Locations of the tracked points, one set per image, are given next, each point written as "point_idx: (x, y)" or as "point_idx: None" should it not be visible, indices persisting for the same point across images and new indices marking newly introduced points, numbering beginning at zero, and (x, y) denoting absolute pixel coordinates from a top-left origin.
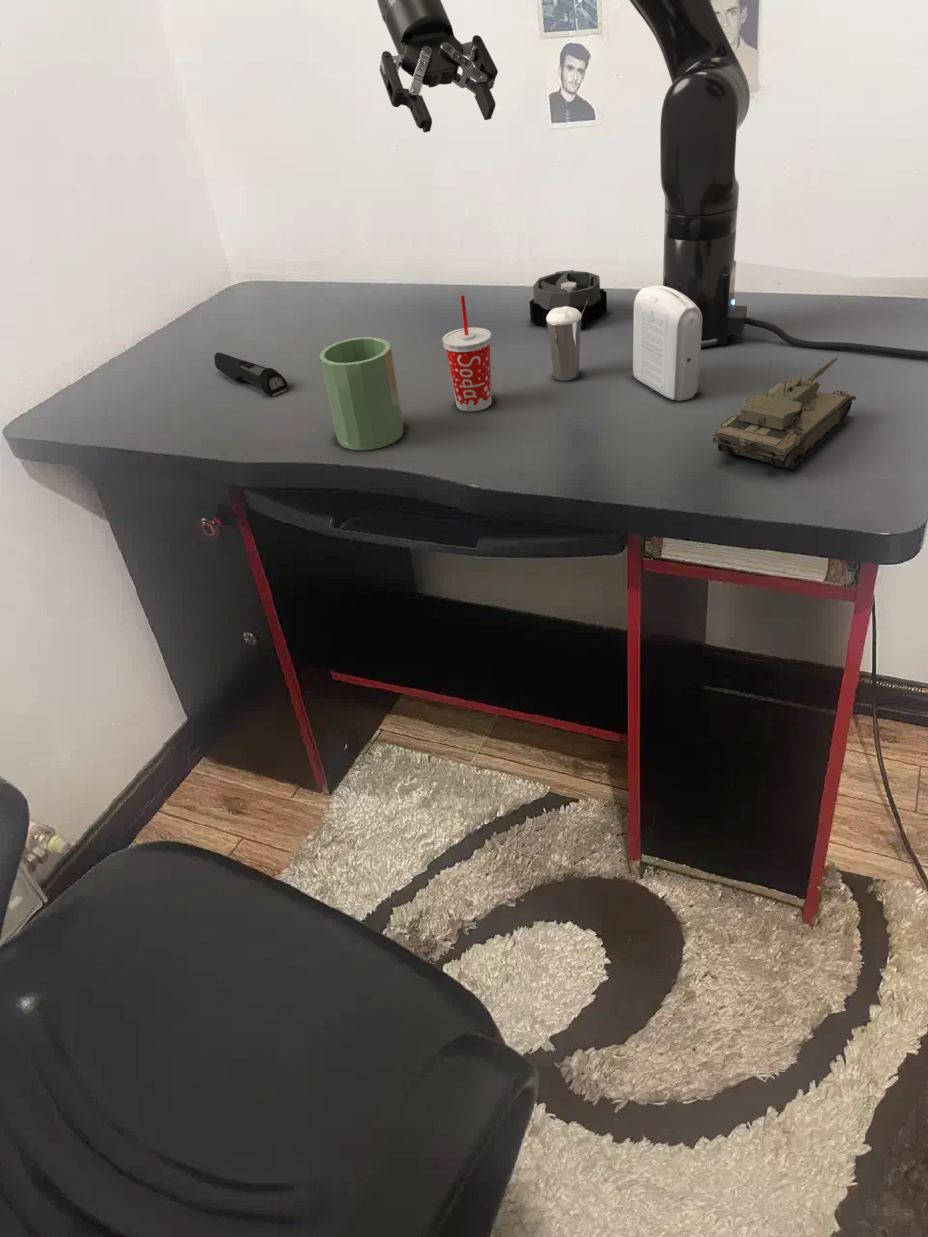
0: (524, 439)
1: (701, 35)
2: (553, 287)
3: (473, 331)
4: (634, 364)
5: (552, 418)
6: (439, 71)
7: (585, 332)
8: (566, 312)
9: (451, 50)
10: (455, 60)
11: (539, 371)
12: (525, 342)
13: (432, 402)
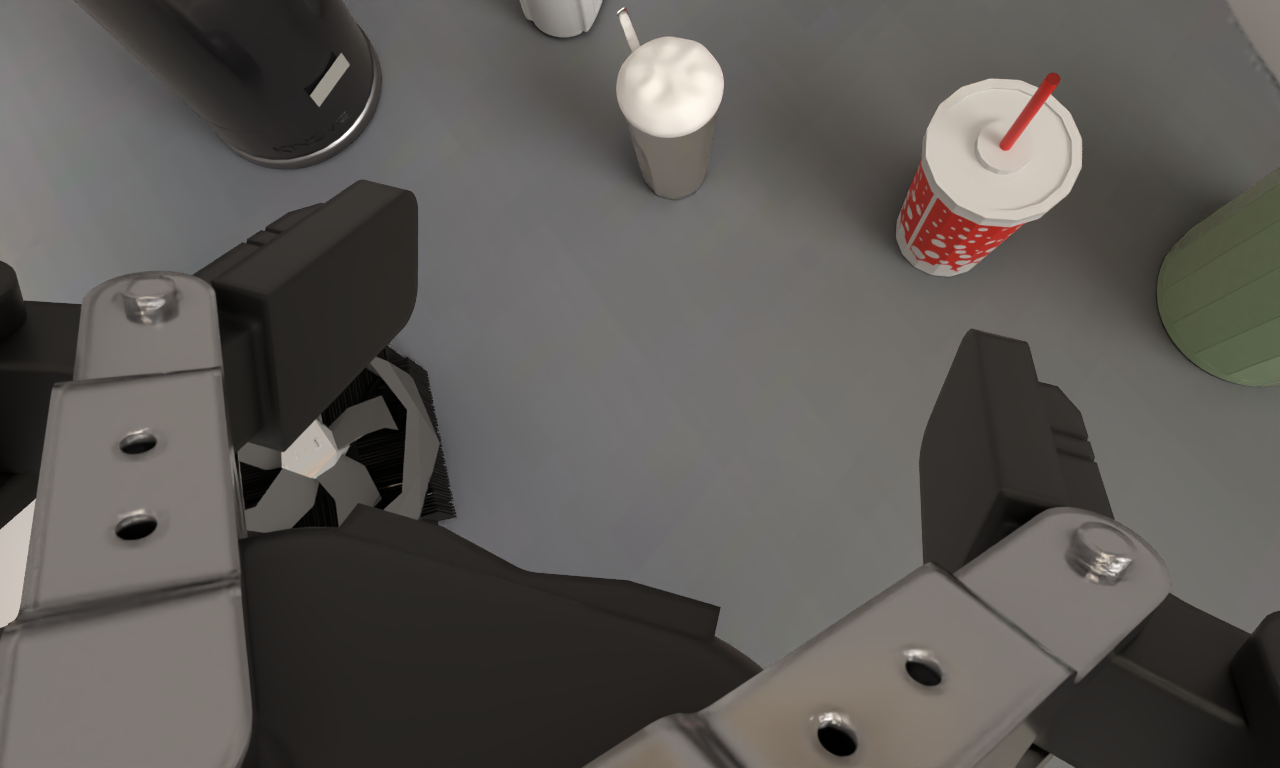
0: (981, 4)
1: None
2: (341, 488)
3: (957, 170)
4: (590, 3)
5: (865, 32)
6: (562, 603)
7: (416, 343)
8: (677, 55)
9: (119, 617)
10: (233, 514)
11: (693, 248)
12: (567, 434)
13: (1013, 328)
